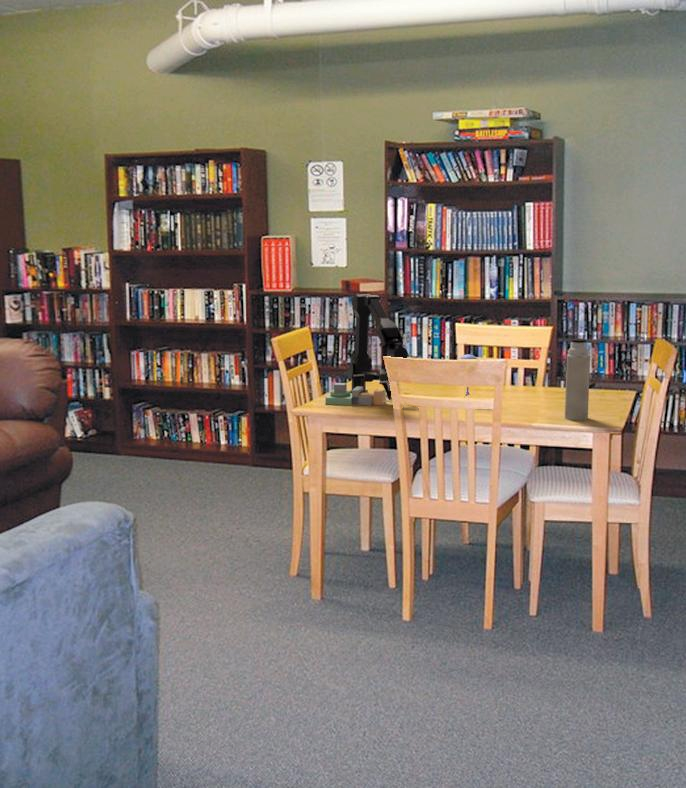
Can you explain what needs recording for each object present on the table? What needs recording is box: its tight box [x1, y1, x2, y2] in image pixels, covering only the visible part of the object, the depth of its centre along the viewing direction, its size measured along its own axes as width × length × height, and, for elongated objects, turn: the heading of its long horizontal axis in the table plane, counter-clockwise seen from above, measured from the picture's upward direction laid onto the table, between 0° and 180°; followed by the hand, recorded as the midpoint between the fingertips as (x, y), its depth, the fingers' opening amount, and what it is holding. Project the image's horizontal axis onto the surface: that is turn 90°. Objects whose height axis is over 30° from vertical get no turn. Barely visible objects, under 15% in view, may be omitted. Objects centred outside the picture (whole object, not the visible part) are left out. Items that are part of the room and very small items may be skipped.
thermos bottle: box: [564, 338, 591, 421], centre depth 374 cm, size 8×8×28 cm
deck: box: [325, 382, 373, 406], centre depth 408 cm, size 11×18×7 cm, turn 77°
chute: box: [359, 388, 387, 406], centre depth 406 cm, size 6×12×5 cm, turn 77°
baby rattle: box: [459, 354, 478, 397], centre depth 409 cm, size 9×9×18 cm
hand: (389, 399), depth 405 cm, fingers closed
